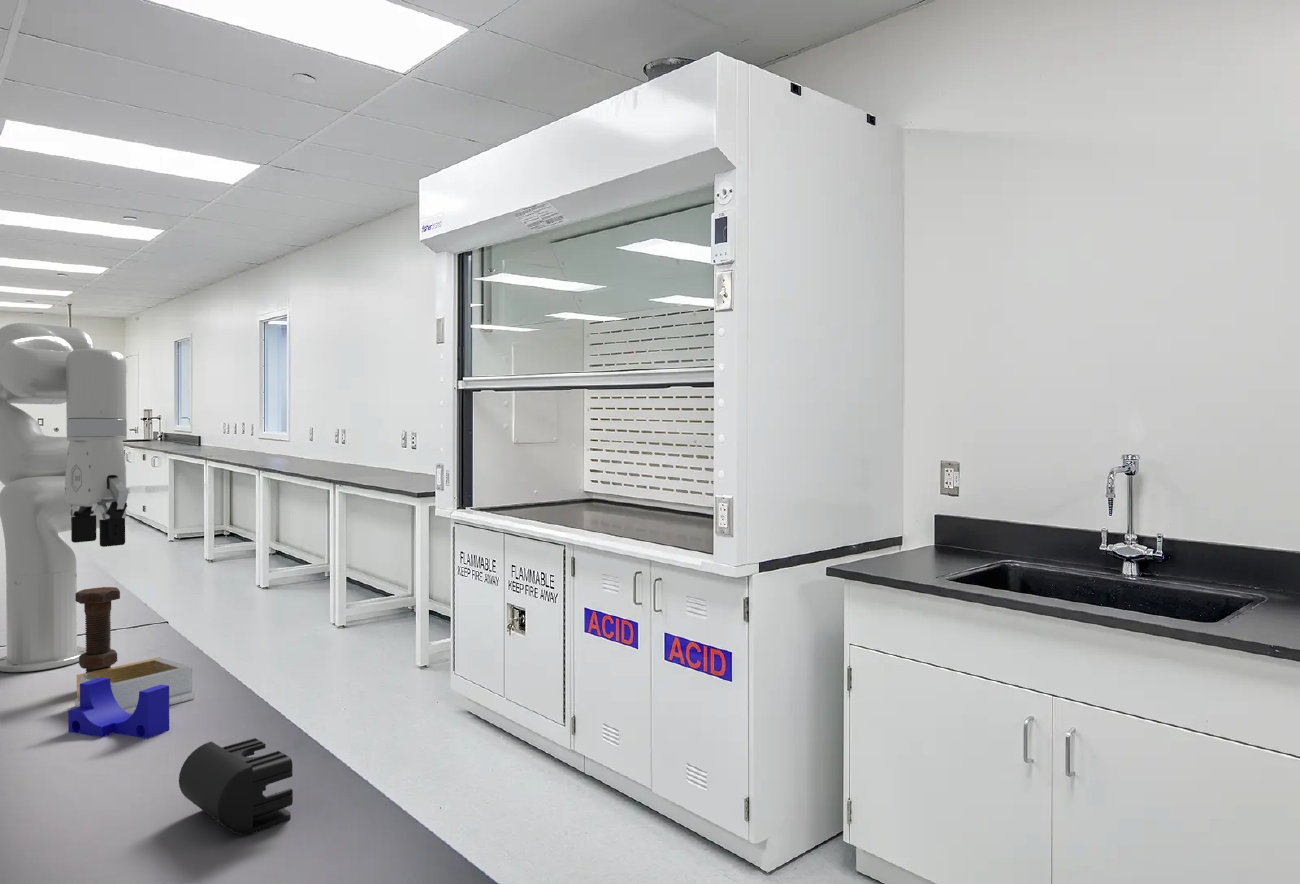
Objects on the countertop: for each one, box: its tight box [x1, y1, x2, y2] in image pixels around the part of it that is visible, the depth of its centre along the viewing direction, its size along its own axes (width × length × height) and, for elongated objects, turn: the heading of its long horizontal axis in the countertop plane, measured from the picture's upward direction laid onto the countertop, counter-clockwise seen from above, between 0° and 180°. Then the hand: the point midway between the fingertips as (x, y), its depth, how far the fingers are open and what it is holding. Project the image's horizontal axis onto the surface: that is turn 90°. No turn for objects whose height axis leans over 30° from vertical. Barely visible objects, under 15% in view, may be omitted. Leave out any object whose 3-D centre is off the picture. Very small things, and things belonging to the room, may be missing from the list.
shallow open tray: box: [74, 657, 195, 714], centre depth 114 cm, size 11×11×4 cm
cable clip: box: [67, 677, 170, 739], centre depth 103 cm, size 12×4×6 cm, turn 72°
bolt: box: [75, 586, 121, 673], centre depth 121 cm, size 6×5×15 cm
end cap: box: [178, 737, 294, 837], centre depth 79 cm, size 10×7×7 cm
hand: (98, 543), depth 121 cm, fingers open, 9 cm apart
